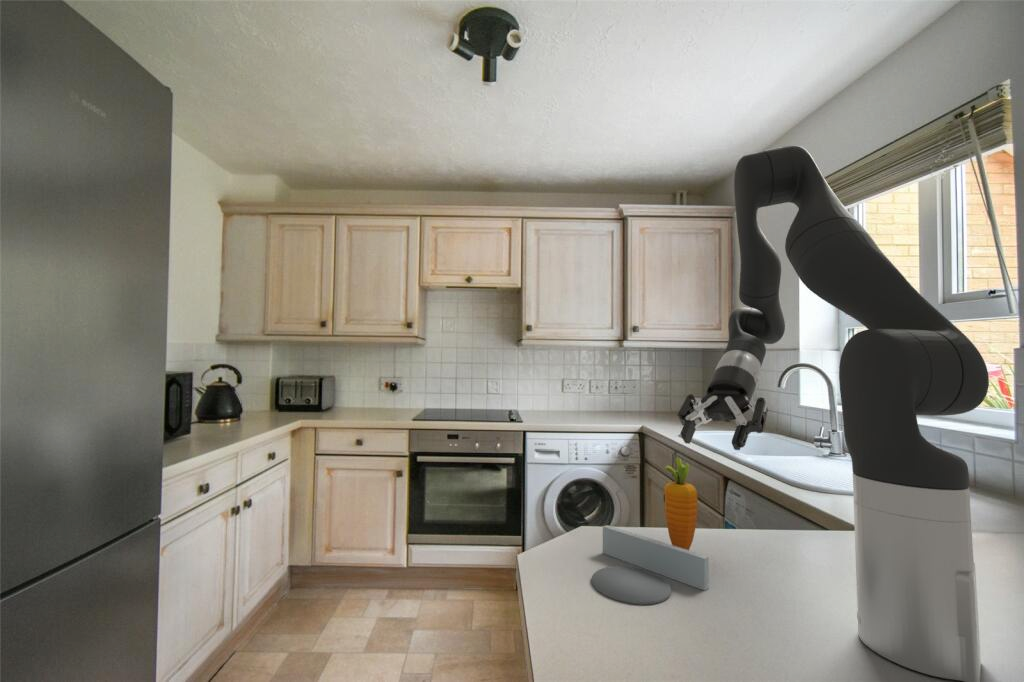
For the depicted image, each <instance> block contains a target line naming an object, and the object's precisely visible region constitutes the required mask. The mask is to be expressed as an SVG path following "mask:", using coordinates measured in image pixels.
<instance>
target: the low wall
mask: <svg viewBox="0 0 1024 682" xmlns="http://www.w3.org/2000/svg"><path fill="white" fill-rule="evenodd" d="M602 554H604V555H606V556H609V557H612V558H615V559H617V560H620V561H623V562H625V563H628V564H631V565H634V566H637V567H639V568H642V569H643V570H644V569H646V571H649V572H652V573H654V574H657V575H661V576H663V577H667V578H668V579H672V580H674V581H678V582H680V583H683V584H685V585H688V586H692V587H693V588H695V589H696V588H697V589H699V590H701V591H706V590H708V589H709V588H710V585H709V584H710V581H709V579H710V578H709V577H710V573H709V572H710V569H709V568H710V567H709V566H710V565H709V563H710V562H709V561H710V558H709V557H710V556H708V555H705V554H702V553H698V552H695V551H692V550H690V549H689V550H686V549H683V548H680V547H676V546H673V545H672V544H670V543H667V542H663V541H659V540H656V539H653V538H650V537H647V536H644V535H640V534H639V533H638V534H637V533H633V532H631V531H627V530H624V529H621V528H617V527H614V526H611V525H608V524H606V525H603V526H602Z"/></svg>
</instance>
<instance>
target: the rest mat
mask: <svg viewBox="0 0 1024 682" xmlns="http://www.w3.org/2000/svg"><path fill="white" fill-rule="evenodd" d="M591 584H592V586H593V588H594V589H595V590H596V591H597V592H598V593H600V594H601V595H603V596H605V597H607V598H609V599H612V600H614V601H617V602H622V603H626V604H631V605H632V604H633V605H639V606H640V605H643V606H648V605H656V604H661V603H663V602H666V601H667V600H668V599H669V598H670V597H671V594H672V588H671V585H670V583H669V582H668V581H666V580H665V579H664V578H663V577H661V576H659V574H657V573H654V572H652V571H649V570H644V569H641V568H635V567H630V566H609V567H604V568H600V569H598V570H596V571H595V572H594V573H593V574H592V575H591Z"/></svg>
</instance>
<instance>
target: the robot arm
mask: <svg viewBox="0 0 1024 682" xmlns="http://www.w3.org/2000/svg"><path fill="white" fill-rule="evenodd" d="M733 180H734V181H733V190H734V191H733V192H734V193H733V194H734V205H735V215H736V227H737V229H736V230H737V237H738V245H739V252H740V253H739V254H740V256H739V257H740V268H739V269H740V273H739V274H740V275H739V288H738V289H739V290H738V296H739V298H738V299H739V301H740V302H741V303H742V304H743V305H745V306H747V307H745V306H744V307H742V306H741V307H737V308H736V309H733V311H732V312H731V313H730V315H729V317H728V341H727V346H726V347H725V350H724V352H723V355H722V357H721V358H720V360H719V361H718V363H717V366H715V370H714V372H713V375H712V376H711V378H710V381H709V383H708V386H707V390H706V394H705V395H704V396H703V397H701V398H700V397H695V395H694V394H693V393H691V394H690V393H689V394H688V395H687V396H686V397H685V400H684V401H683V403H682V405H681V407H680V409H679V411H678V412H677V417H678V419H679V421H680V423H681V425H682V428H681V431H680V436H681V438H682V440H683V442H684V444H689V445H690V444H691V441H692V440H693V437H694V436H695V432H696V430H697V428H698V427H699V426H701V425H706V424H708V423H710V422H711V421H713V422H720V421H721V422H722V421H723V422H724V423H725V422H727V423H731V421H732V422H733V421H734V422H735V423H736V424H737V425H736V426H735V427H736V428H735V431H734V433H733V436H732V439H731V445H732V448H733V450H735V451H741V448H744V447H745V446H746V444H747V440H748V438H749V435H750V434H751V433H755V432H756V433H758V434H761V433H764V430H765V425H766V420H767V416H768V413H769V412H768V411H769V408H768V405H767V403H766V400H765V398H764V397H757V399H756V400H752V398H753V396H754V393H755V389H756V387H757V384H758V383H759V378H760V373H761V368H762V365H763V363H764V359H765V357H766V352H767V348H766V345H773V344H776V343H779V342H780V341H781V339H783V336H784V334H785V329H786V323H785V317H784V314H783V311H782V305H781V303H780V287H781V286H780V285H781V277H782V262H781V258H780V256H779V254H778V252H777V251H776V249H775V248H774V247H773V245H772V244H771V242H770V241H769V240H768V239H767V237H766V236H765V234H764V233H763V230H762V229H761V227H760V225H759V220H758V219H759V218H758V211H759V208H763V207H764V208H765V207H766V208H767V207H771V206H776V205H781V204H785V203H787V204H788V203H792V204H794V205H795V206H796V207H797V208H798V211H797V212H796V215H795V217H794V218H793V221H792V222H791V224H790V226H789V229H788V232H787V234H786V238H785V244H784V245H785V246H784V249H785V255H786V257H787V259H788V261H789V263H790V264H791V267H792V268H793V269H794V271H795V273H796V274H797V277H798V278H799V279H800V281H801V282H802V284H803V285H804V286H806V288H807V290H809V291H810V292H812V294H814V295H816V296H817V297H818V298H820V299H821V300H823V301H825V302H826V303H828V304H829V305H831V306H833V307H835V308H836V309H838V310H840V311H841V312H843V313H844V314H846V315H848V316H850V317H851V318H853V319H854V320H855V321H857V322H859V323H860V324H861V325H863V326H864V327H865V328H866V329H864V330H861V331H858V332H856V333H855V334H854V335H852V336H851V337H850V338H849V339H848V341H846V343H845V345H844V347H843V349H842V352H841V355H840V361H839V365H838V369H839V370H838V371H839V372H838V375H839V376H838V379H839V380H838V382H839V392H840V393H839V395H840V403H841V411H842V422H843V423H842V425H843V435H844V441H845V445H846V449H847V450H848V454H849V456H850V459H851V466H852V468H851V469H852V487H853V488H852V491H853V492H852V493H853V494H852V495H853V518H854V519H853V521H854V550H855V551H854V552H855V555H854V556H855V580H856V584H855V586H856V602H857V603H856V604H857V605H856V608H857V609H856V619H857V631H858V632H857V634H858V637H859V639H860V640H861V642H863V644H865V646H867V647H868V648H869V649H870V650H872V652H875V653H877V654H878V655H879V656H881V657H883V658H885V659H887V660H889V661H891V662H893V663H896V664H898V665H899V666H901V667H904V668H907V669H910V670H912V671H916V672H919V673H922V674H925V675H929V676H932V677H937V678H941V679H945V680H946V679H947V680H954V681H955V680H956V681H961V682H981V665H982V663H981V662H982V660H981V659H982V658H981V657H982V656H981V641H980V625H979V610H978V609H979V608H978V607H979V606H978V590H977V589H978V588H977V572H976V571H977V570H976V563H975V559H974V545H973V544H974V543H973V529H972V528H973V527H972V525H973V524H972V513H971V497H970V496H971V494H970V492H971V491H970V477H969V476H970V473H969V467H968V465H967V462H966V460H965V459H963V458H962V457H961V456H959V455H957V454H955V453H953V452H949V451H946V450H944V449H942V448H939V447H937V446H936V445H934V444H932V443H931V442H929V441H928V440H927V439H926V438H925V437H924V436H923V435H922V433H921V431H920V427H919V424H918V418H917V417H918V416H935V417H937V416H939V417H940V416H944V417H945V416H955V415H960V414H961V415H962V414H965V413H970V412H971V411H974V410H975V409H976V408H977V407H979V406H980V405H981V404H982V403H983V402H984V400H985V398H986V397H987V395H988V390H989V386H990V380H989V372H988V367H987V364H986V362H985V360H984V357H983V356H982V354H981V353H980V351H979V349H978V348H977V347H976V345H975V344H974V343H973V342H972V341H971V339H969V337H968V336H966V335H965V333H964V332H962V331H961V330H960V329H959V328H958V327H957V326H956V325H955V324H953V323H952V322H951V321H950V320H949V319H948V318H947V317H946V316H945V315H944V314H943V313H941V312H940V311H939V310H938V309H937V308H936V307H934V305H932V304H931V303H930V302H929V301H928V300H927V299H926V298H925V297H924V296H922V295H921V294H920V293H919V291H917V289H915V288H914V286H913V285H912V284H911V283H910V282H909V281H908V280H907V279H906V278H905V276H904V275H903V274H902V272H900V270H898V268H897V267H896V265H894V264H893V263H892V261H891V260H890V259H889V258H888V257H887V256H886V255H885V253H884V252H882V250H881V249H880V247H879V246H878V245H877V243H876V242H875V240H874V239H873V237H871V235H870V234H869V233H868V232H867V230H866V229H865V228H864V227H863V226H862V225H861V223H860V221H858V220H857V219H856V218H855V217H854V216H853V215H852V214H851V213H850V212H849V210H848V209H847V208H846V206H845V205H844V204H843V203H842V202H841V200H840V199H839V198H838V196H837V195H836V194H835V192H834V191H833V189H832V188H831V187H830V185H829V184H828V182H827V180H826V179H825V176H824V175H823V173H822V172H821V170H820V168H819V166H818V165H817V163H816V161H815V159H814V158H813V156H812V154H810V152H809V151H808V150H807V149H806V148H805V147H803V146H801V145H795V144H792V145H784V146H780V147H775V148H770V149H765V150H762V151H757V152H756V151H755V152H752V153H748V154H746V155H743V156H742V157H741V158H740V159H739V160H738V162H737V164H736V166H735V171H734V179H733ZM751 409H752V412H753V414H752V418H751V420H747V418H746V417H745V416H744V414H746V413H747V412H748V411H750V410H751ZM704 412H705V413H706V415H704Z"/></svg>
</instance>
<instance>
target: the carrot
mask: <svg viewBox="0 0 1024 682" xmlns="http://www.w3.org/2000/svg"><path fill="white" fill-rule="evenodd" d="M674 459H675V464H676V467H677V470H675V469H674V468H673V467H671V466H670V465H666V466H665V467H664V468H665V470H667V471H668V472H670V473H671V475H672V477H674V480H675V481H671V482H667V483H666V484H665V486H664V507H665V508H664V512H665V520H666V526H667V531H668V536H669V539H670V543H671V545H673V546H676V547H680V548H683V549H686V550H689V551H690V549H691V546H692V544H693V541H694V538H695V533H696V526H697V516H698V492H697V489H696V487H695V486H694V485H693V484H691V483H688V482H686V480H687V478H688V475H689V471H690V464H689V463H687V462H686V463H685V464H683V462H682V459H681V458H680V457H676V458H674Z"/></svg>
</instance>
